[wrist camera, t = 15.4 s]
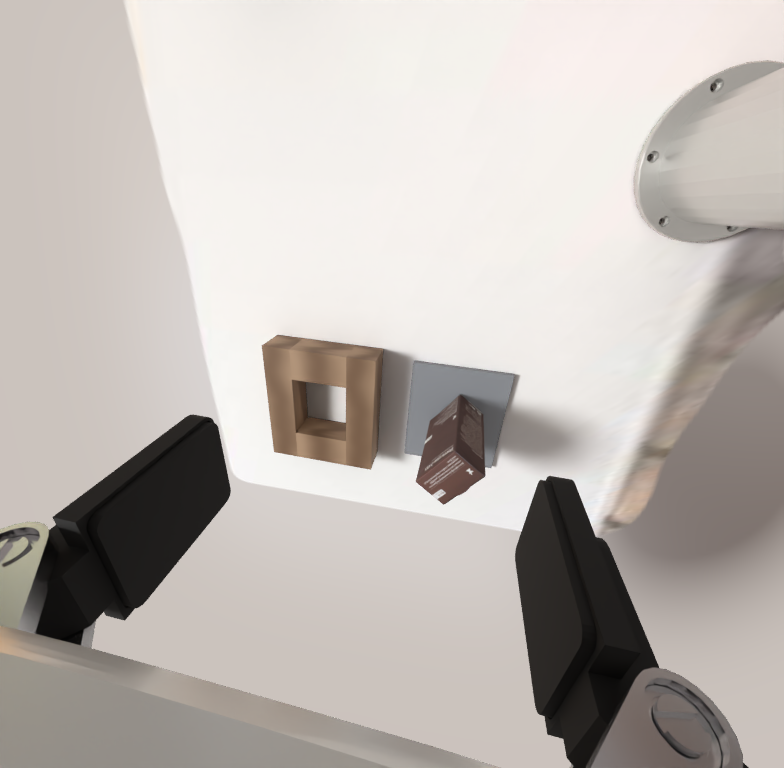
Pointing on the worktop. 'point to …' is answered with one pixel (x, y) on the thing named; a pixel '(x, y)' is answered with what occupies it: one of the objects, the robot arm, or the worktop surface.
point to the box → (453, 451)
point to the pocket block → (329, 367)
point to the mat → (442, 386)
